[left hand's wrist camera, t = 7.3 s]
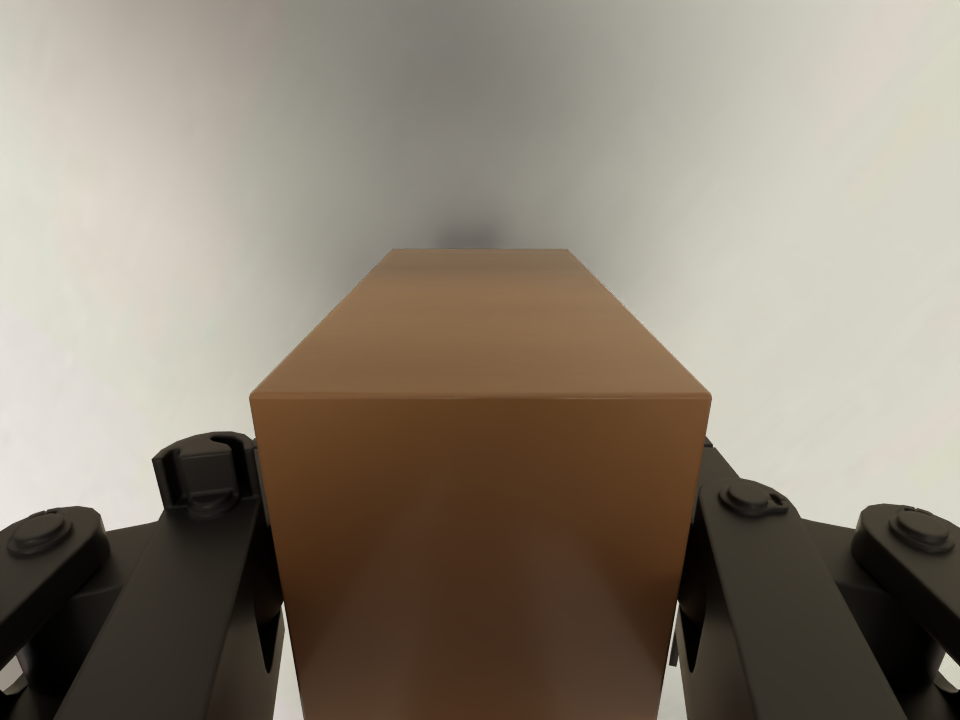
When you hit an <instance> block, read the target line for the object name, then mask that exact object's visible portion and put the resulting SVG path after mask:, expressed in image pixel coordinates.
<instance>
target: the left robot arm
mask: <svg viewBox="0 0 960 720" xmlns="http://www.w3.org/2000/svg"><path fill="white" fill-rule="evenodd" d="M152 463H153V467H154V471H155V475H156V479H157V482H158V486H159V490H160V494H161V498H162V502H163V506H164V511H163V512H162V514H161V516H160V518H159V520H158V521H156V522H152V523H148V524H143V525H138V526H133V527H127V528H122V529H117V530H112V531H107V532H106V531H105V528H104V525H103V522H102V518H101V515H100V514H99V513H98V512H96V511H95V510H94V509H93V508H87V507H81V506H73V507H63V508H53V509H48V510H47V511H41V512H38V513H35V514H32V515H30V516H29V517H27V518H25V519H23V520H20V521H18V522H16V523H13V524H11V525H10V526H8V527H7V528H5V529H3V530H2V531H0V671H1V670H2V669H3V668H4V667H5V666H6V665H7V663H8V662H9V661H10V660H11V659H12V658H13V657H14V656H15V655H16V656H17V659H18V661H19V664H20V666H21V668H22V671H23V674H22V675H21V676H20V677H19V678H18V679H17V680H16V681H15V682H14V683H13V684H12V685H11V686H10V687H9V688H7V689H6V690H5V691H3V692H2V691H1V690H0V720H273V713H274V706H275V699H276V691H277V684H278V676H279V669H280V662H281V654H282V647H283V639H284V632H285V627H284V620H283V613H282V608H281V605H282V603H283V601H284V600H283V594H282V588H281V582H280V576H279V570H278V564H277V559H276V553H275V547H274V541H273V535H272V529H271V523H270V518H269V512H268V506H267V500H266V494H265V488H264V483H263V477H262V471H261V465H260V459H259V453H258V447H257V442H256V438H254V440H253V441H252V439H250V438H249V437H248V436H246V435H245V434H241V433H236V432H231V431H229V432H210V433H204V434H199V435H194V436H191V437H188V438H185V439H182V440H179V441H177V442H175V443H173V444H171V445H169V446H168V447H166V448H164V449H162V450H161V451H160V452H159V453H158V454H157V455H156V456H155V457H153V458H152ZM678 602H679V608H678V613H677V619H676V625H675V631H674V636H673V642H672V648H671V654H670V661H669V665H670V666H675V667H676V666H677V660H678V655H679V660H680V668H681V675H682V683H683V690H684V697H685V705H686V712H687V719H688V720H960V690H958V689H956V688H955V687H954V686H953V685H952V684H950V683H949V682H948V681H947V680H946V679H945V678H944V676H943V675H942V674H941V673H940V672H939V671H938V669H939V667H940V665H941V662H942V660H943V658H944V655H945V653H947V654H948V655H949V656H950V657H951V658H952V659H953V660H954V661H955V662H956V663H957V664H958V665H959V666H960V528H959V527H957V526H956V525H954V524H953V523H951V522H949V521H947V520H945V519H942V518H940V517H938V516H935V515H933V514H932V513H930V512H928V511H925V510H922V509H919V508H917V509H915V508H914V507H911V506H906V505H893V504H877V505H871V506H868V507H867V508H865V509H864V510H863V511H862V512H861V513H860V517H859V520H858V523H857V526H856V529H851V528H846V527H841V526H835V525H830V524H825V523H820V522H815V521H810V520H806V519H802V518H801V517H800V515H799V513H798V511H797V510H796V508H795V507H794V506H793V504H792V503H791V502H790V501H789V500H788V499H787V498H786V497H785V496H783V495H782V494H780V493H779V492H777V491H776V490H774V489H773V488H770V487H768V486H765V485H763V484H760V483H758V482H755V481H751V480H746V479H742V478H740V477H739V476H738V475H737V474H736V472H735V471H734V470H733V469H732V467H731V466H730V465H729V464H728V463H727V461H726V460H725V459H724V458H723V456H722V455H721V454H720V453H719V452H718V450H717V449H716V448H713V444H712V443H711V442H710V441H709V439H708V438H707V437H706V436H705V441H704V447H703V453H702V459H701V465H700V470H699V476H698V482H697V488H696V494H695V500H694V505H693V511H692V517H691V523H690V529H689V535H688V540H687V546H686V552H685V558H684V564H683V569H682V575H681V581H680V587H679V593H678Z"/></svg>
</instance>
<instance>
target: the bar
mask: <svg viewBox="0 0 960 720" xmlns="http://www.w3.org/2000/svg"><path fill="white" fill-rule="evenodd" d="M249 401H250V406H251V412H252V418H253V424H254V430H255V436H256V442H257V447H258V453H259V459H260V465H261V471H262V477H263V483H264V488H265V494H266V500H267V506H268V512H269V518H270V523H271V529H272V535H273V541H274V547H275V553H276V559H277V564H278V570H279V576H280V582H281V588H282V594H283V600H284V605H285V611H286V617H287V623H288V629H289V635H290V641H291V646H292V652H293V658H294V664H295V670H296V676H297V682H298V687H299V693H300V699H301V705H302V711H303V717H304V720H657V715H658V709H659V703H660V698H661V692H662V686H663V680H664V674H665V668H666V663H667V657H668V651H669V645H670V639H671V634H672V628H673V622H674V616H675V610H676V604H677V599H678V593H679V587H680V581H681V575H682V569H683V564H684V558H685V552H686V546H687V540H688V535H689V529H690V523H691V517H692V511H693V505H694V500H695V494H696V488H697V482H698V476H699V470H700V465H701V459H702V453H703V447H704V441H705V436H706V430H707V424H708V418H709V412H710V406H711V401H712V396H711V393H710V392H709V391H708V390H707V389H706V388H705V387H704V386H703V385H702V384H701V383H700V382H699V381H698V380H697V379H696V378H695V377H694V376H693V375H692V374H691V373H690V372H689V371H688V370H687V369H686V368H685V367H684V366H683V365H682V364H681V363H680V362H679V361H678V360H677V359H676V358H675V357H674V356H673V355H672V354H671V353H670V352H669V351H668V350H667V349H666V348H665V347H664V346H663V345H662V344H661V343H660V342H659V341H658V340H657V339H656V338H655V337H654V336H653V335H652V334H651V333H650V332H649V331H648V330H647V329H646V328H645V327H644V326H643V325H642V324H641V323H640V322H639V321H638V320H637V319H636V318H635V317H634V316H633V315H632V314H631V313H630V312H629V311H628V310H627V309H626V308H625V307H624V306H623V305H622V304H621V303H620V302H619V301H618V300H617V299H616V298H615V297H614V296H613V295H612V294H611V293H610V292H609V291H608V290H607V288H606V287H605V286H604V285H603V284H602V283H601V282H600V281H599V280H598V279H597V278H596V277H595V276H594V275H593V274H592V273H591V272H590V271H589V270H588V269H587V268H586V267H585V266H584V265H583V264H582V263H581V262H580V261H579V260H578V259H577V258H576V257H575V256H574V255H573V254H572V253H571V252H570V251H569V250H568V249H393V250H391V251H390V252H389V253H388V254H387V255H386V256H385V257H384V259H383V260H382V261H381V262H380V263H379V264H378V265H377V266H376V267H375V268H374V269H373V270H372V271H371V272H370V273H369V274H368V275H367V276H366V277H365V278H364V279H363V280H362V281H361V282H360V283H359V284H358V285H357V286H356V287H355V288H354V289H353V290H352V291H351V292H350V293H349V294H348V295H347V296H346V297H345V298H344V299H343V300H342V301H341V302H340V303H339V304H338V305H337V306H336V307H335V308H334V309H333V310H332V311H331V312H330V313H329V314H328V315H327V316H326V317H325V318H324V319H323V320H322V321H321V322H320V323H319V324H318V325H317V326H316V327H315V328H314V329H313V330H312V332H311V333H310V334H309V335H308V336H307V337H306V338H305V339H304V340H303V341H302V342H301V343H300V344H299V345H298V346H297V347H296V348H295V349H294V350H293V351H292V352H291V353H290V354H289V355H288V356H287V357H286V358H285V359H284V360H283V361H282V362H281V363H280V364H279V365H278V366H277V367H276V368H275V369H274V370H273V371H272V372H271V373H270V374H269V375H268V376H267V377H266V378H265V379H264V380H263V381H262V382H261V383H260V384H259V385H258V386H257V387H256V388H255V389H254V390H253V391H252V392H251V393H250V396H249Z"/></svg>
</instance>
